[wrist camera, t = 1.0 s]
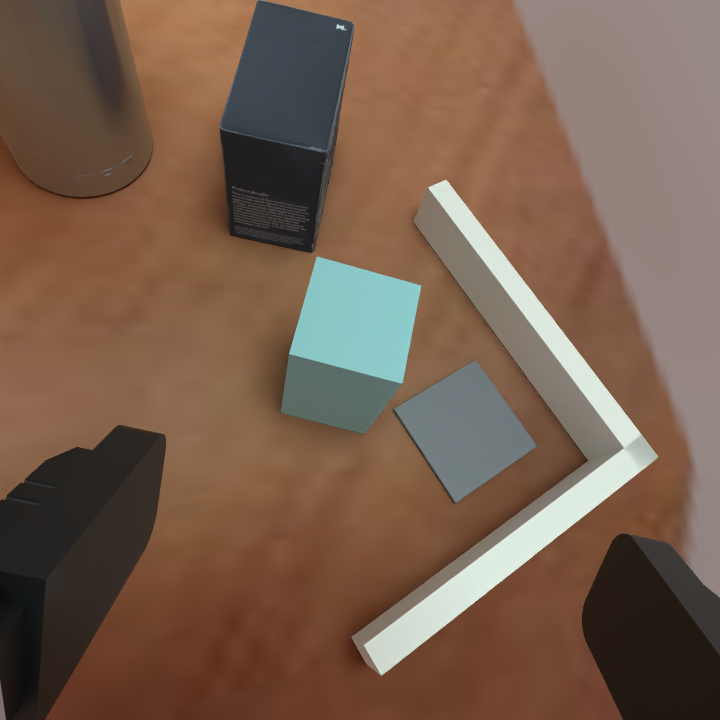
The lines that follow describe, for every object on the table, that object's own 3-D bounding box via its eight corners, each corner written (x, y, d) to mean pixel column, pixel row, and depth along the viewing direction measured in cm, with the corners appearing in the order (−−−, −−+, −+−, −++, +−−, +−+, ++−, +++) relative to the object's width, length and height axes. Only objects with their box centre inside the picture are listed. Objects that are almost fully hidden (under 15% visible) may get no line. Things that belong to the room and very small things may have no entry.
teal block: (280, 412, 35) (289, 353, 26) (302, 336, 37) (317, 256, 28) (364, 434, 35) (402, 383, 26) (380, 357, 38) (421, 285, 28)
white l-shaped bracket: (175, 332, 36) (166, 303, 32) (429, 214, 43) (445, 179, 39) (366, 663, 31) (381, 675, 27) (619, 468, 38) (658, 457, 34)
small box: (254, 122, 43) (254, -9, 33) (337, 142, 44) (360, 19, 34) (223, 236, 39) (212, 123, 29) (315, 255, 40) (334, 151, 30)
